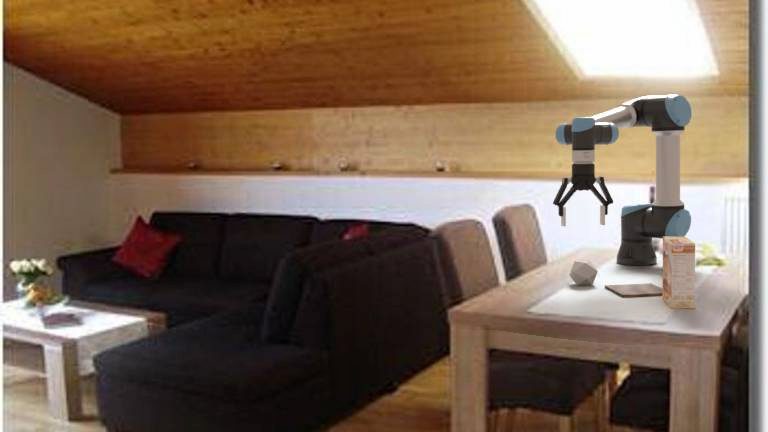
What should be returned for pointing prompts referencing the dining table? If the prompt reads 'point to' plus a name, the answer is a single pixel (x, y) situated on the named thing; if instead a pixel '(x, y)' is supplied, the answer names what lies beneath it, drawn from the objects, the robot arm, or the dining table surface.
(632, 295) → the walnut board
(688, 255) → the coffeecake box
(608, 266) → the dining table surface
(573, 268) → the die
